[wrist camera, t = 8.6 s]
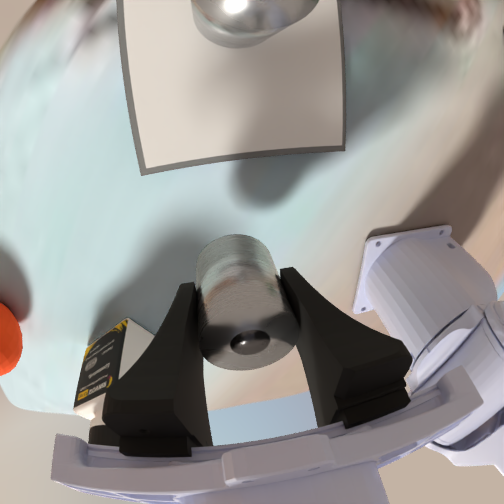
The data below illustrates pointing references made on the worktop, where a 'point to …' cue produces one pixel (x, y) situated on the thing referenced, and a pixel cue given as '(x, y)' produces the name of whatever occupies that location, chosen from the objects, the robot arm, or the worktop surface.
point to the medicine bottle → (107, 374)
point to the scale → (229, 88)
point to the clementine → (9, 340)
